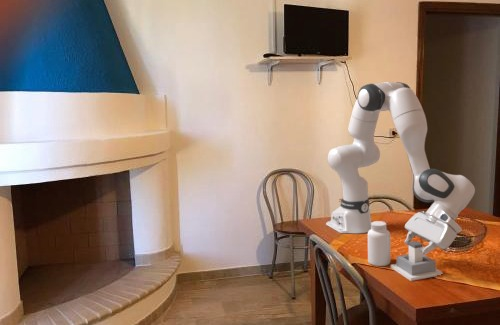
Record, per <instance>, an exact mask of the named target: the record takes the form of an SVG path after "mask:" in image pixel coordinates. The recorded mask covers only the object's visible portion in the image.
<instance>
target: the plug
mask: <svg viewBox="0 0 500 325" xmlns="http://www.w3.org/2000/svg"><path fill="white" fill-rule="evenodd" d="M407 247H408V254H409V261H410V262H412V263H417V262H423V255H424V254H423V253H422V252H421V249H422V248H423V243H421V242H419V241H417V240H414V241H412V242H408V245H407Z"/></svg>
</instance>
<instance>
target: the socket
mask: <svg viewBox="0 0 500 325" xmlns="http://www.w3.org/2000/svg"><path fill="white" fill-rule="evenodd" d="M436 266H437V265H436V260H434V259H432V257H431V258H430V257H429V256H427V255H425V254H423V262H417V263H412V262H410V261H409V253H408V254H401V255H396V263H392V264H390V268H391V269H392V270H393V271H395V272H396V273H399V274H400V275H401V276H402V277H404V278H406V279H407V280H409V281H410V282H413V281H418V280H423V279H427V278H433V277H438V276H437V275H439V274H443V271H442V270H440V269H439V268H436ZM443 275H444V274H443Z"/></svg>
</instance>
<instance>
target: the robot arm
mask: <svg viewBox="0 0 500 325" xmlns="http://www.w3.org/2000/svg"><path fill="white" fill-rule="evenodd" d="M386 111H389V112H390V115H391V119H392V122H393V124H394V127H395V130H396V132H397V134H398V137H399V138H400V141H401V142H402V145H403V147H404V150H405V152H406V155H407V158H408V162H409V165H410V168H411V172H412V175H413V182H412V193H413V195H414V196H415V198H416V199H417V200H419V201H420V202H423V203H431V205H430V207H429V208H428V209H427V210H426V211H425V210H421V211H418V212H417V213H415V214H414V215H412V216H411V217H410V218H409V220H408V221H407V222H406V223H405V225H404V229H405V230H407V233H406V234H407V235H406V238H405V240H404V241H403V243H404V244H405V245H407V246H408V242H413V241H412V240H413V238H415V236H416V237H418V238H420V239H422V240H424V241H426V242H428V245H426V246H422V249H421V252H422V253H423V255H425V256H427V255H428V253H430V252H431V251H433V250H435V249H436V248H440V249H442V250H446V249H448V248H449V247H450V246H451V245H452V243H453V242H454V241H455V239H456V238H457V235H458V234H459V233H460V232H462V230H463V229H462V227H461V226H460V224H458V223H457V222H456V220H457V218H458V215H459V214H460V212H461V211H463V210H465V208H466V207H467V206H468V204H470V202H471V200H472V199H473V197H474V196H475V194H476V188H475V185H474V183H473V182H472V181H471V180H470V179H469V178H467V177H466V176H464V175H462V174H451V173H447V172H444V171H442V170H440V169H436V168H430V164H429V161H428V158H427V154H426V150H425V143H426V138H427V133H428V122H427V118H426V113H425V112H424V109H423V107H422V104H421V103H420V100H419V98H418V97H417V95H416V93H415V92H414V90H413V89H411V87H410V86H409V85H408V84H407V83H404V82H400V81H396V82H394V81H392V82H391V81H384V82H378V83H377V82H376V83H368V84H365V85H362V86H361V87H360V88H359V90H358V92H357V96H356V100H355V103H354V105H353V108H352V111H351V115H350V119H349V122H348V128H347V131H348V134H349V136H351V137H352V138H353V141H352V143H350V144H344V145H339V146H336V147H334V148H330V150H329V151H328V154H327V162H328V165H329V167H330V168H331V169H332V170H334V171H335V172H336V173H337V174H338V177H339V179H340V181H341V188H342V198H339V199H338V200H339V202H340V206H338V207H337V208H336V209H334V210H333V211H332V212H331V214H330V215H331V216H330V220H328V221H327V222H326V223H325V225H326V226H328V227H329V228H331V229H333V230H335V231H336V232H337V233H340V234H365V233H368V231H369V230H370V229H371V223H372V222H373V221H372V217H371V216H372V214H371V210H370V198H369V190H368V189H369V186H368V185H369V183H368V181H367V180H366V179H365V177H363V176H361V175H360V174H359V170H358V169H360V168H365V167H370V166H372V165H374V164H376V163H378V162H379V160H380V157H381V150H380V148H379V147H378V145H377V144H376V143H375V132H376V127H377V123H378V121H379V115H380V112H386Z"/></svg>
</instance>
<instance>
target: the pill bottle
mask: <svg viewBox="0 0 500 325" xmlns="http://www.w3.org/2000/svg"><path fill="white" fill-rule="evenodd" d="M371 222H372V223H371V229H370V230H369V231H368V232H367V261H368V264H370V265H372V266H376V267H386V266H388V264H389V265H391V261H392V260H391V256H392V255H391V232H390V231H389V230H388V229H387V223H386V222H385V221H383V220H382V221H381V220H380V221H379V220H376V221H375V220H374V221H371Z"/></svg>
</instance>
